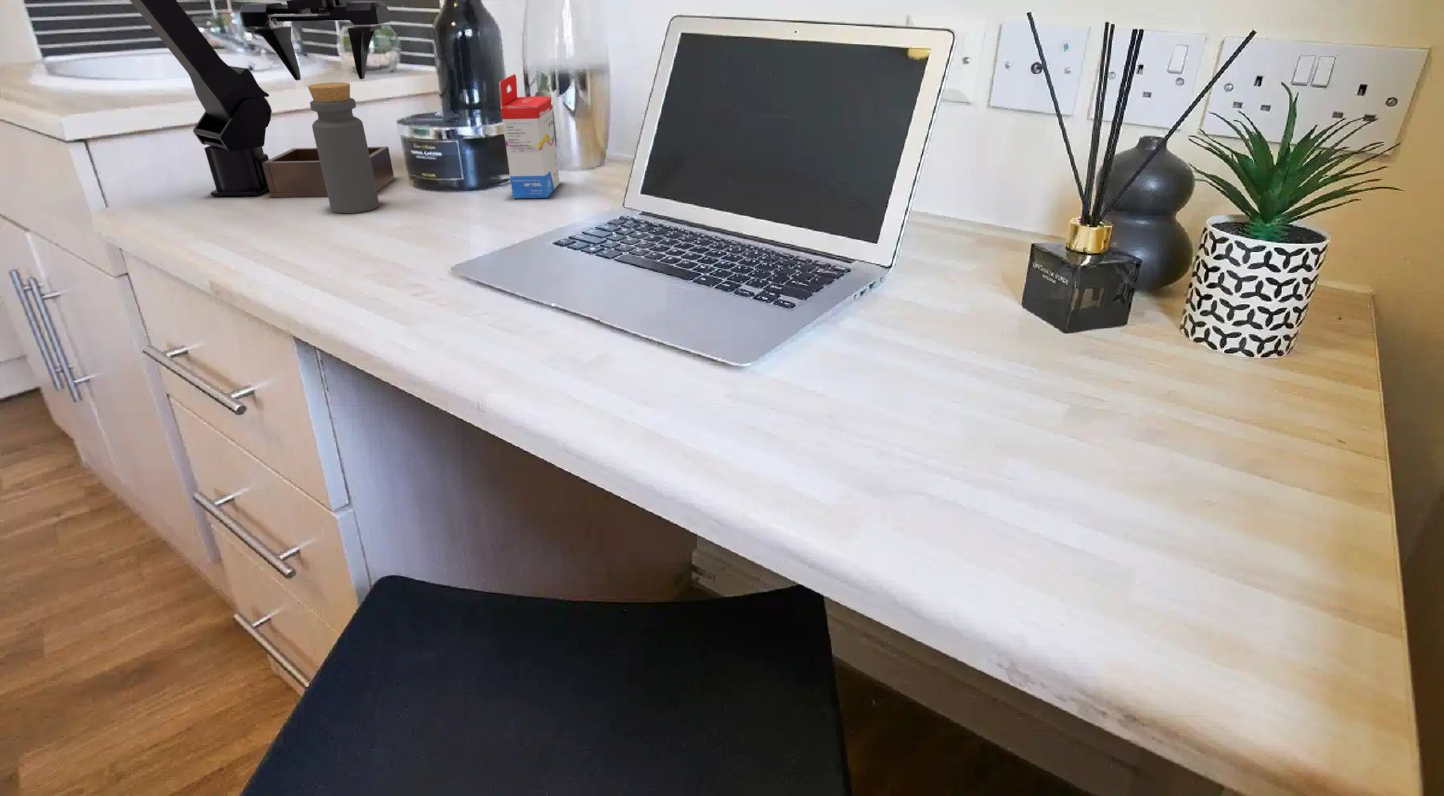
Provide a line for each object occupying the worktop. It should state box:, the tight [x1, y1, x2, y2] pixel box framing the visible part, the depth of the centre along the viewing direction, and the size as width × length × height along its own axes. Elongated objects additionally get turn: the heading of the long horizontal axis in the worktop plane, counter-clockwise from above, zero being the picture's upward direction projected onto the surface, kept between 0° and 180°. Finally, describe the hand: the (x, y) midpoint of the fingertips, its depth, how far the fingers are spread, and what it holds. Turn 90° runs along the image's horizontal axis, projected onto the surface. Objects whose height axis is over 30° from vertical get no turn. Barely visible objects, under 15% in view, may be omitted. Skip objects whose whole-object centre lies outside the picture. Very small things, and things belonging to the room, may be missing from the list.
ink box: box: [498, 73, 560, 199], centre depth 112 cm, size 8×5×15 cm, turn 179°
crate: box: [262, 146, 395, 198], centre depth 117 cm, size 14×10×5 cm
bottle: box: [307, 81, 380, 214], centre depth 105 cm, size 6×6×15 cm
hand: (330, 79), depth 122 cm, fingers open, 9 cm apart
